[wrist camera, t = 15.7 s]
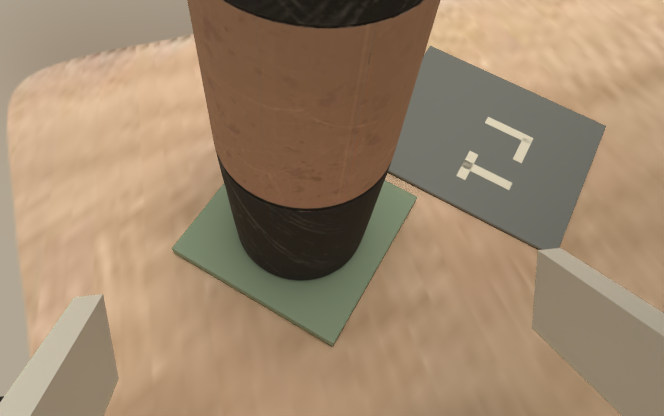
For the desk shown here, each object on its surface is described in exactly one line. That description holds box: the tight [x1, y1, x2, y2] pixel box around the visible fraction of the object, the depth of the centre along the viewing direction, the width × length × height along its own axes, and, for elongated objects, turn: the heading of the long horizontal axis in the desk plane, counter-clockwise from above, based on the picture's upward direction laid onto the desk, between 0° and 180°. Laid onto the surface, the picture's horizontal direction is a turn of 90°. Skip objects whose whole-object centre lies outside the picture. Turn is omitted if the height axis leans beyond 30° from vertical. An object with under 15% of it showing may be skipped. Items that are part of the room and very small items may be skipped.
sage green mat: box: [172, 180, 417, 346], centre depth 30 cm, size 10×10×1 cm
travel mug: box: [188, 0, 440, 281], centre depth 21 cm, size 8×8×20 cm
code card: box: [388, 46, 606, 250], centre depth 34 cm, size 13×11×1 cm
